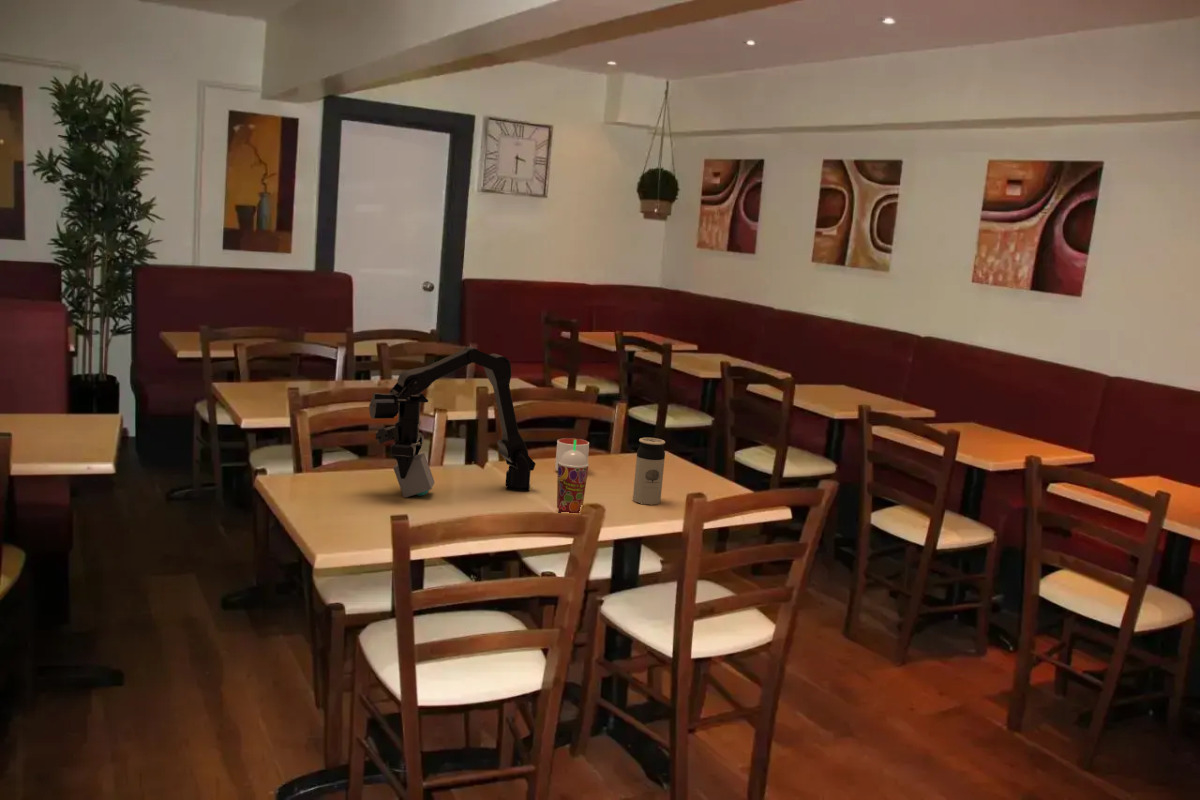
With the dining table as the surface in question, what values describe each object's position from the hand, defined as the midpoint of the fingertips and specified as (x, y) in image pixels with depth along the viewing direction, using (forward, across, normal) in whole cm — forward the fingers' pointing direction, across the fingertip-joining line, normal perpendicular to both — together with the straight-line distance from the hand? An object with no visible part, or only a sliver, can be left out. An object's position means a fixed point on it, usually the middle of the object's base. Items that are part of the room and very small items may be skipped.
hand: (405, 474), depth 276 cm
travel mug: (+6, -12, +67) cm, 68 cm away
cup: (+6, -41, +45) cm, 61 cm away
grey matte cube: (+4, 0, +4) cm, 6 cm away
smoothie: (+6, +6, +45) cm, 46 cm away
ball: (+3, 0, +4) cm, 5 cm away
